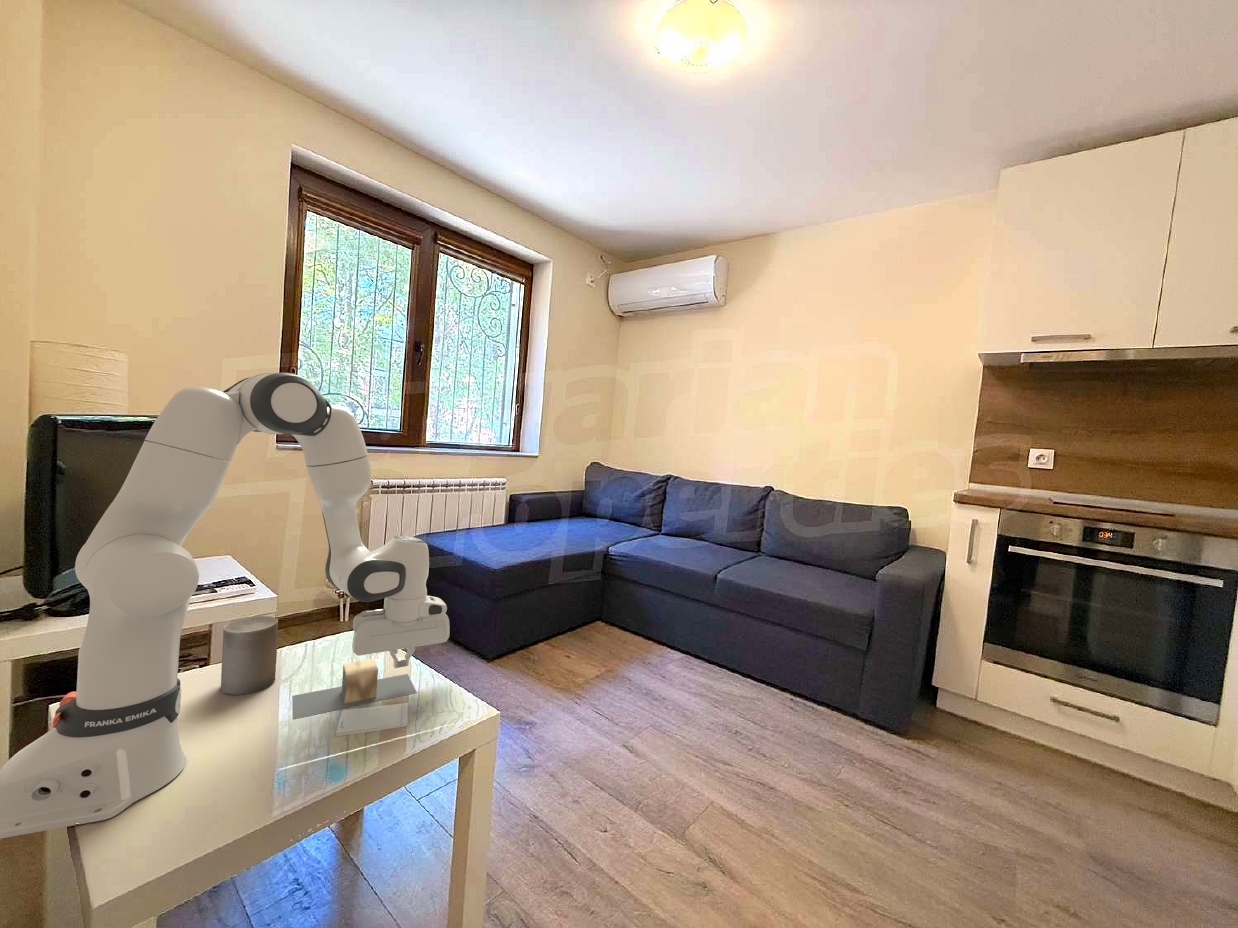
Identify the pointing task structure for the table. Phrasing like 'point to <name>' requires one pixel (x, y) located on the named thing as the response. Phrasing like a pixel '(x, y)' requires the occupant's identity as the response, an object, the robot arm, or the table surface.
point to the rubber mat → (335, 701)
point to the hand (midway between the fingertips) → (400, 666)
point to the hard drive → (372, 719)
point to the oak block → (359, 680)
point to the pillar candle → (249, 654)
